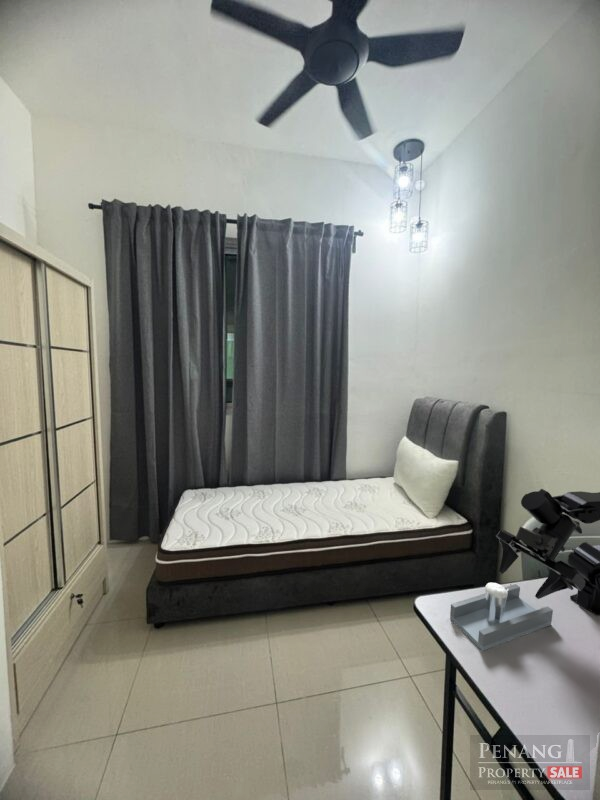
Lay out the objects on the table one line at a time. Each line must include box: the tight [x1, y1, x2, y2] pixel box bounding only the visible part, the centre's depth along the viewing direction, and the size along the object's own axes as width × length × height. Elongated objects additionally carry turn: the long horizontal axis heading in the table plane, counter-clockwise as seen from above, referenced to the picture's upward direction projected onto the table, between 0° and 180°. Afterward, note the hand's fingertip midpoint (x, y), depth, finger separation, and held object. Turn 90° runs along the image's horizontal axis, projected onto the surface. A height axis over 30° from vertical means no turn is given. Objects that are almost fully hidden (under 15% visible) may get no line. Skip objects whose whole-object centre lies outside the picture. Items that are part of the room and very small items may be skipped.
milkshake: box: [485, 582, 513, 625], centre depth 77 cm, size 5×5×10 cm
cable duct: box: [449, 583, 554, 652], centre depth 78 cm, size 22×9×4 cm, turn 109°
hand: (517, 584), depth 79 cm, fingers open, 9 cm apart
